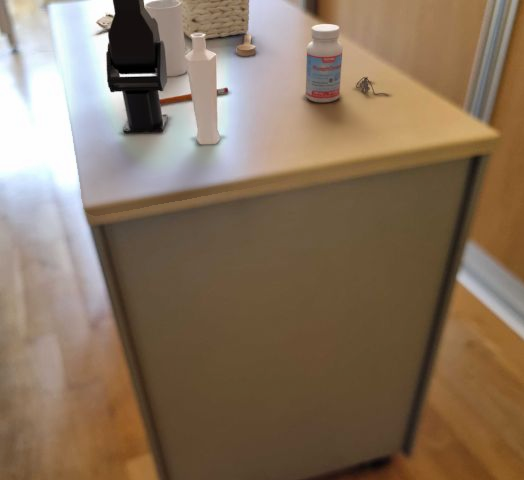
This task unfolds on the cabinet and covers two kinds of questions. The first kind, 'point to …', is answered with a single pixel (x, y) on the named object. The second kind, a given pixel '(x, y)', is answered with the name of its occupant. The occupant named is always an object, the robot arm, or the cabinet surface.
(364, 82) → the pendant
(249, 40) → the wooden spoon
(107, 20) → the butterfly
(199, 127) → the perfume bottle
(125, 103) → the robot arm
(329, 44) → the pill bottle
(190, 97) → the pencil
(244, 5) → the basket
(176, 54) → the mug
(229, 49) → the cabinet surface
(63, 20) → the cabinet surface
